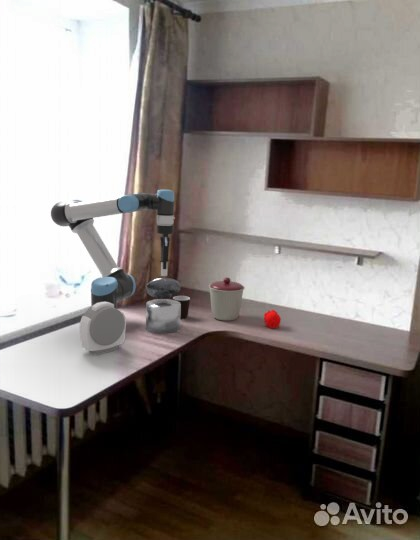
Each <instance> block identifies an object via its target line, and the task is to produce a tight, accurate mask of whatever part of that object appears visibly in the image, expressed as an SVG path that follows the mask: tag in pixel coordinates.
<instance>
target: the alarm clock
mask: <svg viewBox="0 0 420 540" xmlns="http://www.w3.org/2000/svg"><path fill="white" fill-rule="evenodd" d="M126 323H127V321H126V316H125V313H124V312H123V311H121V310H120V309H118V308H117V309H116V308H114V304H112V303H109V302H106V301H105V302H99V303H96V304H94V305H93V306H91V305H90V307H89V308H87V310H86V311H85V312H84V314H83V315H81V318H80V323H79V335H80V343H81V347H82V348H83V349H85V350H87V351H88V352H89V353H91V354H92V355H94V356H97V355H102V354H105V353H109V352H113V351H116V350H118V349H119V345H122V344H123V343H125V337H126V329H127V324H126Z"/></svg>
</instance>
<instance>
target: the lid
mask: <svg viewBox="0 0 420 540" xmlns="http://www.w3.org/2000/svg"><path fill="white" fill-rule="evenodd" d="M145 291H146V293H147V295H148V296H151V297H153V298H155V299H158V298H159V299H169V298H171V297H172V298H173V297H175V296H176V295H178V293H180V291H181V283H180V282H179V280H176V279H174V278H170V277H160V278H155V279H152V280H151V281H148V283H147V284H146V286H145Z"/></svg>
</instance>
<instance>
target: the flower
mask: <svg viewBox="0 0 420 540" xmlns="http://www.w3.org/2000/svg"><path fill="white" fill-rule="evenodd" d="M263 320H264V323H265V326H266V328H269V329H278V327H279V326H280V324H281V320H282V319H281V316H280V314H278V312H277V311H276V310H275V309H271V310H268V311H267V312H265V313H264V315H263Z"/></svg>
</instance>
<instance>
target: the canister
mask: <svg viewBox="0 0 420 540" xmlns="http://www.w3.org/2000/svg"><path fill="white" fill-rule="evenodd" d="M208 288H209V296H210V306H211V307H210V308H211V315H212V316H213V318H215V319H216V320H219V321H226V322H227V321H235V320H237V318H238V317H239V316H240V315H239V314H240V312H241V311H240V310H241V304H242V299H243V294H244V293H243V292H244V290H245V288H246V287H245V286H244V285H242V284H241V283H240V282H236V281H232V280H231V278H230V277H223V280H219V281H214V282H212V283H210V284H209V285H208Z"/></svg>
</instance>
